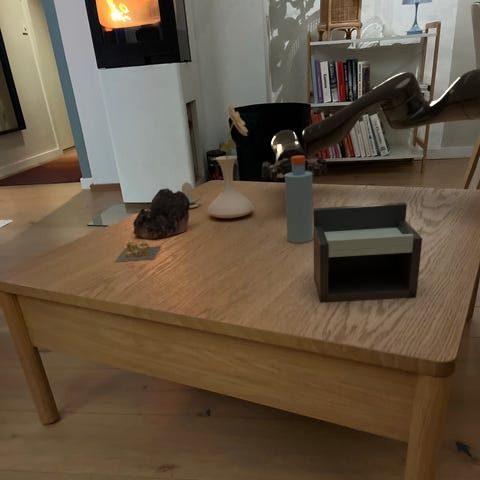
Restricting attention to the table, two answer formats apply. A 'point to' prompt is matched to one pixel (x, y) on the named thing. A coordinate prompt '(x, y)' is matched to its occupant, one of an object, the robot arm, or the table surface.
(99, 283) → the table surface
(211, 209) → the flower in vase
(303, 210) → the plastic bottle
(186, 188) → the pacifier
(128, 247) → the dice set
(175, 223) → the dark brown rock
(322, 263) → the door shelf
